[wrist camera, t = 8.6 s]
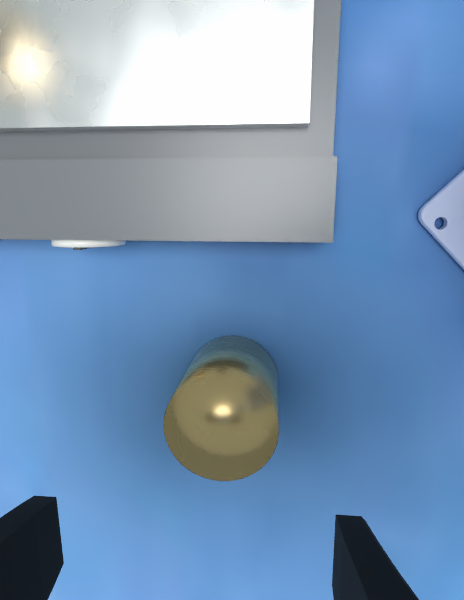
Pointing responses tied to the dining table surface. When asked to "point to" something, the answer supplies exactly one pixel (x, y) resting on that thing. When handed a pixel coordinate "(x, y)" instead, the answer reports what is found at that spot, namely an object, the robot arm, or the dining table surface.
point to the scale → (168, 120)
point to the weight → (225, 410)
